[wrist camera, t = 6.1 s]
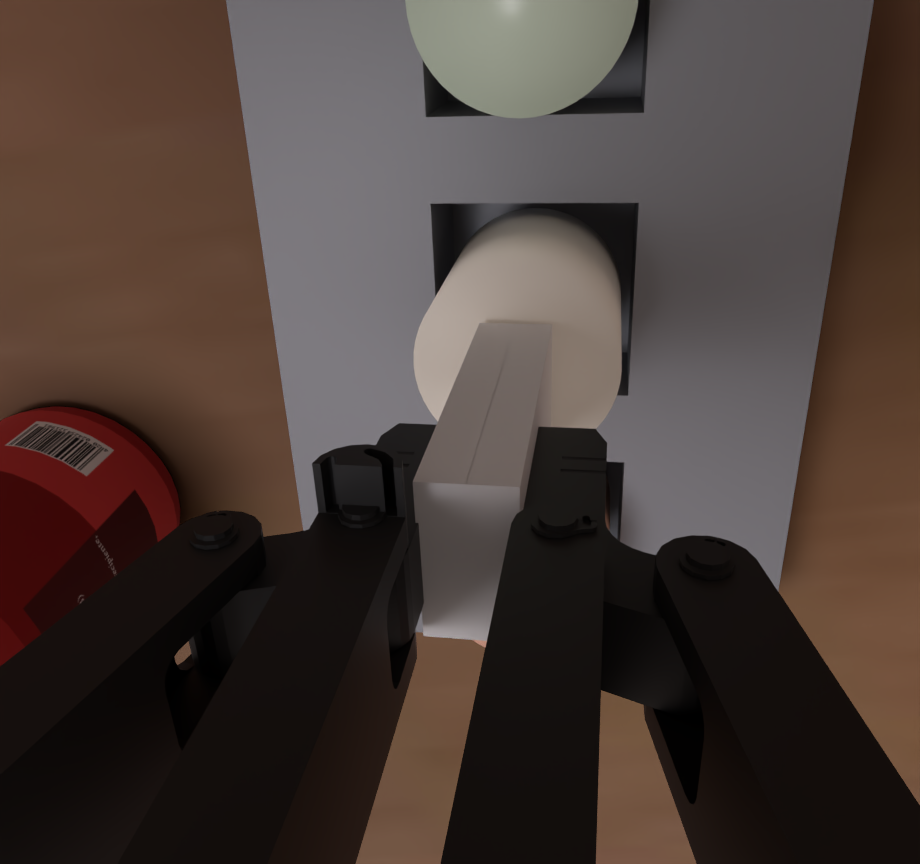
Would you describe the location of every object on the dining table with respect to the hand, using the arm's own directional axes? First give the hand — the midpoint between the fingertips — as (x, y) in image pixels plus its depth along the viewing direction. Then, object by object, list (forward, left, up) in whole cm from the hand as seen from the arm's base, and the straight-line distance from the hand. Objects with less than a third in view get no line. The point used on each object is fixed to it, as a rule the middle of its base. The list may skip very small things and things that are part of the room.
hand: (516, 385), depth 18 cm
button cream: (0, 0, -5) cm, 5 cm away
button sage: (-7, 0, -7) cm, 10 cm away
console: (0, 0, -8) cm, 8 cm away
